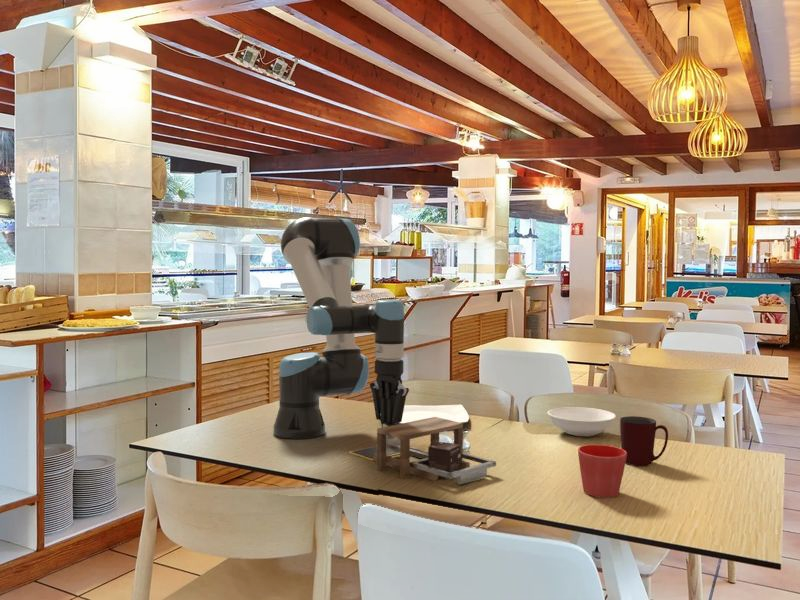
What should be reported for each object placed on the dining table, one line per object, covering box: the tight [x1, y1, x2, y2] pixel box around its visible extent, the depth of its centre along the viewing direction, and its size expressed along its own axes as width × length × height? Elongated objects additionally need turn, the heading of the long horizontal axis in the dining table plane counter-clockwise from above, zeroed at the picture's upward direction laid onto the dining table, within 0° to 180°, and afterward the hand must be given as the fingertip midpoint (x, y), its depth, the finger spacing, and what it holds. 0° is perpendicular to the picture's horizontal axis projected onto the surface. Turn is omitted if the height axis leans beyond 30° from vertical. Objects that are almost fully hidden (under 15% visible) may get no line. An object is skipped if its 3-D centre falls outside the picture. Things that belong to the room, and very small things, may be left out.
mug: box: [619, 415, 669, 467], centre depth 194 cm, size 12×9×11 cm
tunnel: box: [373, 417, 471, 482], centre depth 190 cm, size 22×20×10 cm
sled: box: [386, 437, 497, 486], centre depth 188 cm, size 29×16×5 cm, turn 43°
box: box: [427, 441, 461, 480], centre depth 183 cm, size 6×6×7 cm
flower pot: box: [577, 444, 627, 499], centre depth 170 cm, size 11×11×10 cm
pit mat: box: [347, 445, 400, 462], centre depth 202 cm, size 10×12×1 cm
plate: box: [396, 404, 470, 426], centre depth 243 cm, size 29×29×3 cm
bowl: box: [547, 406, 617, 437], centre depth 225 cm, size 20×20×6 cm
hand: (388, 447), depth 199 cm, fingers closed
